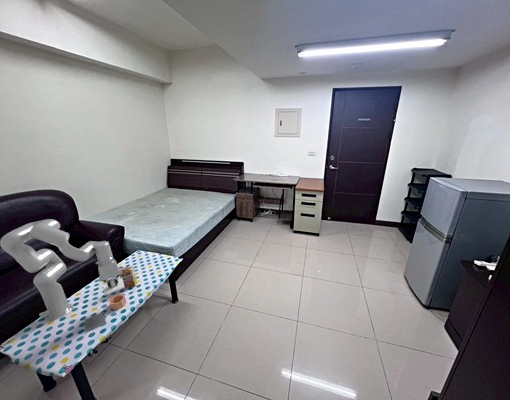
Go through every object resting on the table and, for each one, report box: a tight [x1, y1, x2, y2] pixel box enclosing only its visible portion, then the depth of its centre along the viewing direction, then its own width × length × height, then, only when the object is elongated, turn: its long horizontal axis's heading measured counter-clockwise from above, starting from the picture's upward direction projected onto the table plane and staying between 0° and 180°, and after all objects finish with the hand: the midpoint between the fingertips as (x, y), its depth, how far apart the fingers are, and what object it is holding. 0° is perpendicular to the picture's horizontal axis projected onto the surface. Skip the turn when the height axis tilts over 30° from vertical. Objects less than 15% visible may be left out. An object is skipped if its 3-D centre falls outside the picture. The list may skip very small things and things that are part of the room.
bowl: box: [108, 293, 127, 311], centre depth 143 cm, size 9×9×5 cm
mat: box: [84, 311, 107, 334], centre depth 131 cm, size 10×12×1 cm
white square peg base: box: [102, 277, 126, 297], centre depth 138 cm, size 11×11×6 cm
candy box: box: [119, 266, 138, 288], centre depth 159 cm, size 9×4×15 cm, turn 98°
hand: (113, 285), depth 139 cm, fingers closed on white square peg base, 3 cm apart
